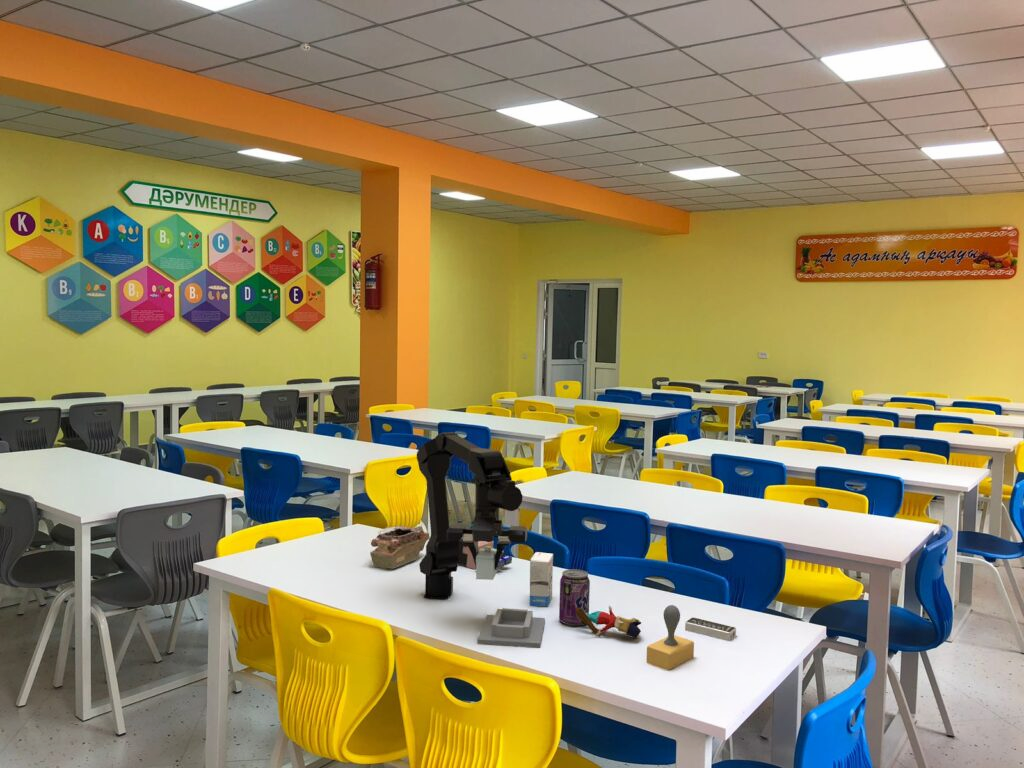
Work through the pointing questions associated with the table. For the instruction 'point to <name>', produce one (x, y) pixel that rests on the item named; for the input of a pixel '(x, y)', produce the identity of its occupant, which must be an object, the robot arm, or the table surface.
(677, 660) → the rubber stamp
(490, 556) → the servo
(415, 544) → the decorative box
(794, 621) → the table surface
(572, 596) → the beverage can
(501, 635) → the grey socket base
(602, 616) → the toy
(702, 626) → the multiport hub
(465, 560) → the toy
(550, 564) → the ink box
